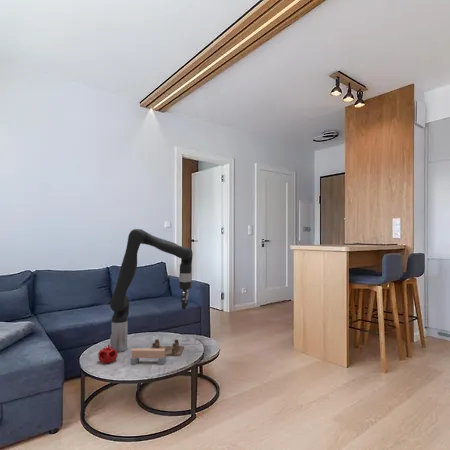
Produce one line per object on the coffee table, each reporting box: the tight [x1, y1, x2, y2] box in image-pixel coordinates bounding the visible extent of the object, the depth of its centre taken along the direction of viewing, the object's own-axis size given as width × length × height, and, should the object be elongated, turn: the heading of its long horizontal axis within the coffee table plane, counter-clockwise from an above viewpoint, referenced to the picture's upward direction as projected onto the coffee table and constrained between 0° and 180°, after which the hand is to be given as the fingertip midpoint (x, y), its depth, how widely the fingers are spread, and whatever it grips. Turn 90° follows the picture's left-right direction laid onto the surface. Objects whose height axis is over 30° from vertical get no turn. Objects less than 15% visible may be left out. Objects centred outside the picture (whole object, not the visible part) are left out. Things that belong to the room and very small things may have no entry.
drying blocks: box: [130, 355, 167, 366], centre depth 186 cm, size 18×6×3 cm, turn 88°
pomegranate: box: [97, 344, 118, 364], centre depth 188 cm, size 10×10×9 cm
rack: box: [150, 338, 185, 357], centre depth 203 cm, size 20×14×6 cm
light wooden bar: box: [130, 347, 165, 359], centre depth 186 cm, size 18×4×4 cm, turn 88°
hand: (184, 307), depth 203 cm, fingers open, 8 cm apart
